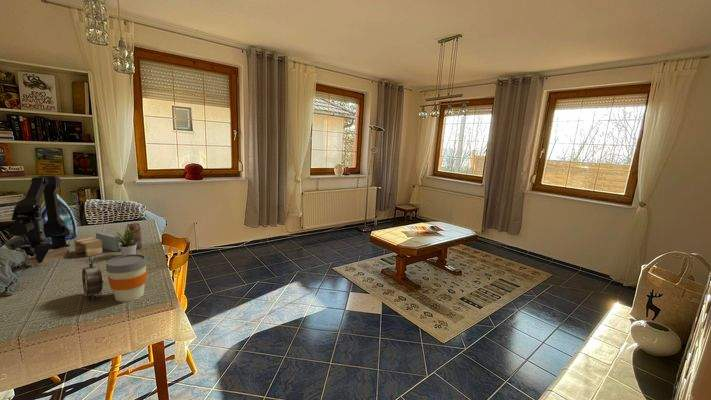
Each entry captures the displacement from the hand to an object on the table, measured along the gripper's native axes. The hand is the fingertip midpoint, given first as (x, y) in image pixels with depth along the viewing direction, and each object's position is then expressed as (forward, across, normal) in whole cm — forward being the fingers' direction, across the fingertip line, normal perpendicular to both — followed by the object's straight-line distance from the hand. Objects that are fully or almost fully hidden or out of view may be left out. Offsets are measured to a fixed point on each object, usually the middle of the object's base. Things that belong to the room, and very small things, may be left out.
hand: (35, 261), depth 138 cm
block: (+1, +5, +18) cm, 19 cm away
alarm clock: (+1, +57, -6) cm, 57 cm away
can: (+1, +17, +34) cm, 38 cm away
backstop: (+1, +5, +27) cm, 28 cm away
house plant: (+1, +27, +26) cm, 38 cm away
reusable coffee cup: (+1, +68, 0) cm, 68 cm away
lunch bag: (+1, -40, +26) cm, 48 cm away
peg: (+1, 0, +4) cm, 5 cm away
